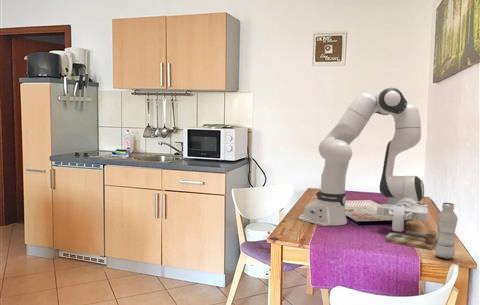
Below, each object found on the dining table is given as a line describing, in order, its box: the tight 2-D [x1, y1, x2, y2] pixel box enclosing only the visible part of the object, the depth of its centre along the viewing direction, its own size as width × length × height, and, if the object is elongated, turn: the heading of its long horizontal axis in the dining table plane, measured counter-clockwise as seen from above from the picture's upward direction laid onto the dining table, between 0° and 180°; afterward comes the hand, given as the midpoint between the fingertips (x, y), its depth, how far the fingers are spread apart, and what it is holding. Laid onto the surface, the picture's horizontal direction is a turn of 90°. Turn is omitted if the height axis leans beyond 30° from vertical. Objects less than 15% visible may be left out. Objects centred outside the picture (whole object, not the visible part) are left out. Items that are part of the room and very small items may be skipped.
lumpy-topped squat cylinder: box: [387, 197, 404, 205], centre depth 238 cm, size 10×13×9 cm
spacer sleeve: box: [391, 205, 405, 232], centre depth 178 cm, size 4×4×10 cm
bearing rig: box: [385, 229, 437, 251], centre depth 176 cm, size 18×12×5 cm, turn 56°
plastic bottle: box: [434, 202, 459, 260], centre depth 157 cm, size 6×7×20 cm
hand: (397, 216), depth 177 cm, fingers closed on spacer sleeve, 4 cm apart
